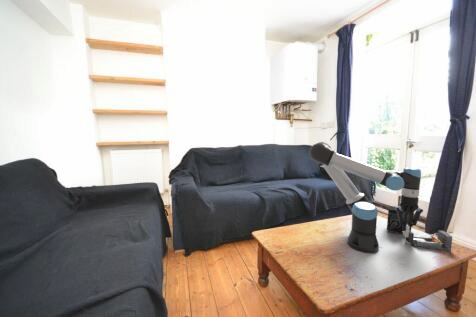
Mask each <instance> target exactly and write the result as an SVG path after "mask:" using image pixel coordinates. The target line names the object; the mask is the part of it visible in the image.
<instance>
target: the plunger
mask: <svg viewBox="0 0 476 317" xmlns="http://www.w3.org/2000/svg"><path fill="white" fill-rule="evenodd" d="M414 236H415V233H414V232H412V230H411V231H409V237H405V241H406V242H407V243H408V244H411V243H416V240H417V241H425V240H424V239H420V238H414Z"/></svg>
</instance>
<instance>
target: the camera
mask: <svg viewBox="0 0 476 317" xmlns="http://www.w3.org/2000/svg"><path fill="white" fill-rule="evenodd" d="M387 209H388V210H387V224H386V231H387V232H390V233H395V234H399V235H403V232H404V231H403V230H402V224H400V223H399V221H398V216H397V211H396V209H395V206H392V205H391V206H390V205H389V206H388V208H387ZM400 211H401V215H402V219H403V210H402V208H401V210H400ZM407 223H408V217H407ZM407 225H408V224H407Z"/></svg>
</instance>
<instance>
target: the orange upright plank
mask: <svg viewBox="0 0 476 317" xmlns="http://www.w3.org/2000/svg"><path fill="white" fill-rule="evenodd" d="M430 237H432V238H434V239H432V242H439V243H441V241H439V240H438V239H437V238H438V237H437V238H436V236H434V235H432V234H431V235H430Z"/></svg>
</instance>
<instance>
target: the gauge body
mask: <svg viewBox="0 0 476 317" xmlns="http://www.w3.org/2000/svg"><path fill="white" fill-rule="evenodd" d="M414 238H420V239H424V240H425V241H417V240H416V243H410V245H412V246H413V247H414V248H417V249H427V250H428V249H429V250H438V251H447V252H452V244H453V236H452V235H450V234H449V233H448V232H446V231H444V230H439V229H438V231H437V239H438V240H439V241H441V243H439V242H432V239H434V238H432V237H431V236H429V237H427V236H417V235H414Z"/></svg>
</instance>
